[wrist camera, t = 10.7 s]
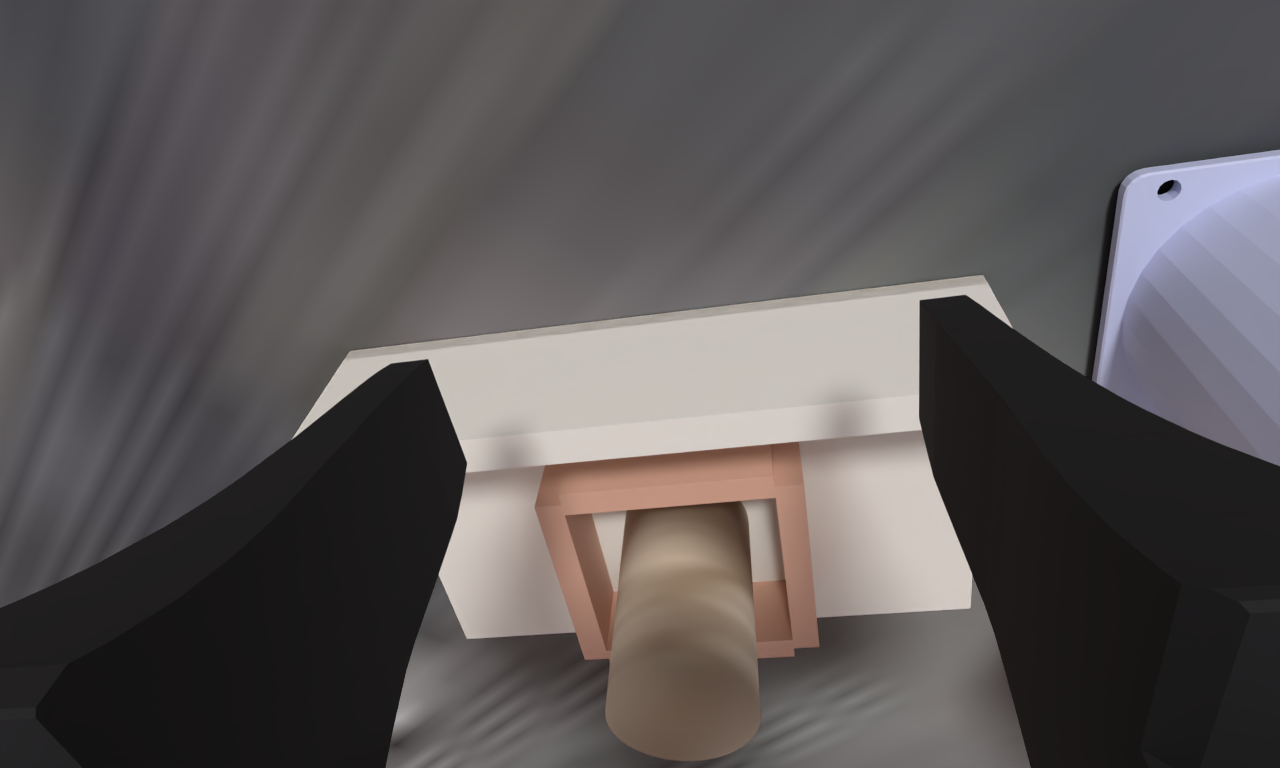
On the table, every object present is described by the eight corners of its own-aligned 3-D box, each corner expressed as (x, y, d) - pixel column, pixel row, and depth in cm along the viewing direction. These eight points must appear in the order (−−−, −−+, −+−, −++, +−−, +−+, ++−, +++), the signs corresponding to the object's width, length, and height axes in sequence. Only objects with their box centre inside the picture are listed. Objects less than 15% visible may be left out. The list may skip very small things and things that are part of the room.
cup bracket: (982, 274, 22) (1042, 382, 18) (966, 596, 29) (1007, 727, 25) (349, 351, 25) (279, 458, 21) (470, 628, 32) (434, 749, 28)
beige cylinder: (767, 496, 27) (785, 690, 21) (723, 578, 29) (728, 773, 23) (645, 463, 26) (629, 653, 21) (611, 549, 28) (588, 742, 23)
